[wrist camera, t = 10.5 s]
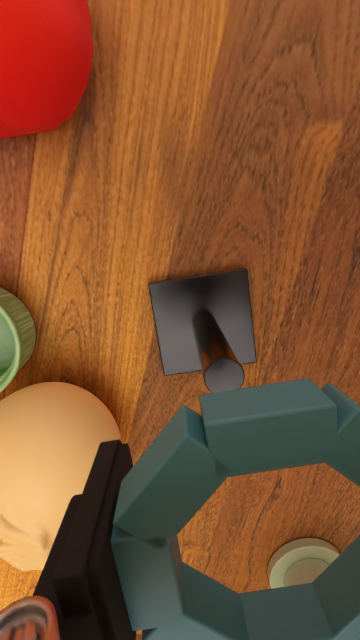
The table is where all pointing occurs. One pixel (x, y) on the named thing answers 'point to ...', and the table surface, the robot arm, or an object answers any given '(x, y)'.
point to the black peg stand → (205, 326)
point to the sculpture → (45, 463)
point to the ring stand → (300, 562)
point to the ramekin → (14, 337)
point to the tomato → (42, 63)
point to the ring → (196, 488)
